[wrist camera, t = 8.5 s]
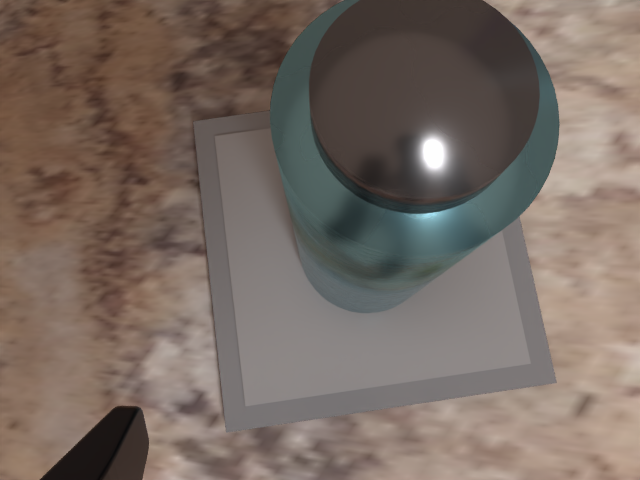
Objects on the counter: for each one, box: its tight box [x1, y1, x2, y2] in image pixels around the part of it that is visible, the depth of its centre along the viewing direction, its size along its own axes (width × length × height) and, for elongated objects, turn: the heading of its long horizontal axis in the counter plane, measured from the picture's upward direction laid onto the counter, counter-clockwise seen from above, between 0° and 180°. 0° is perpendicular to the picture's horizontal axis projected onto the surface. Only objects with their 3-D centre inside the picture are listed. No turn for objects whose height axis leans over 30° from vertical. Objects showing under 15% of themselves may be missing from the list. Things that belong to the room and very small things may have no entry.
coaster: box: [193, 111, 557, 432], centre depth 22 cm, size 12×12×1 cm
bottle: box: [270, 0, 559, 313], centre depth 15 cm, size 5×5×13 cm
